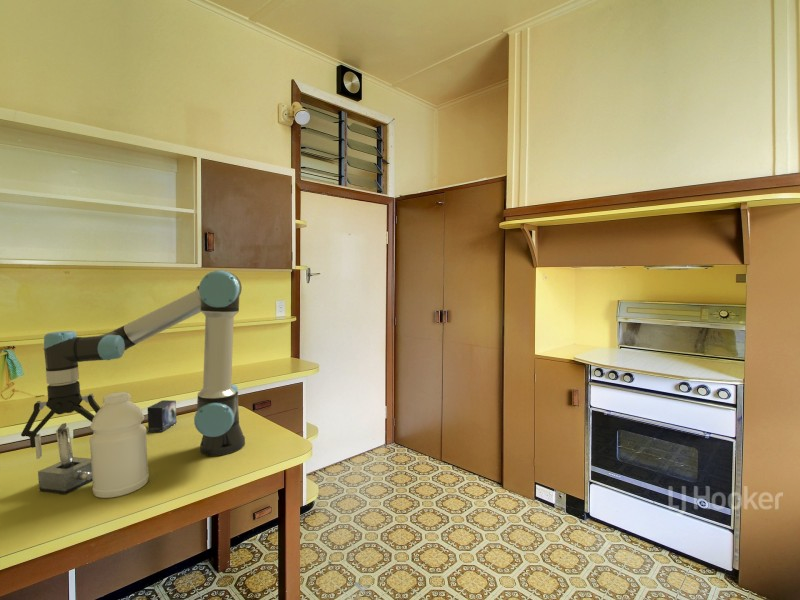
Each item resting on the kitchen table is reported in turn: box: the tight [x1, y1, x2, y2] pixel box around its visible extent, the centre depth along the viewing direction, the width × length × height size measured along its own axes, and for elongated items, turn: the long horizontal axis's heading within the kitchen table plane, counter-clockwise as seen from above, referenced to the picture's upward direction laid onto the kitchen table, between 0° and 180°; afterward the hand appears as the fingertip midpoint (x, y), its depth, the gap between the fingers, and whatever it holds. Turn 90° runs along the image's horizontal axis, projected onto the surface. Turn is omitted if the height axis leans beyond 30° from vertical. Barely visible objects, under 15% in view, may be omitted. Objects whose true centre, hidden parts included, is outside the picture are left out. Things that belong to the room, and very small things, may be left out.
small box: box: [147, 399, 178, 433], centre depth 170 cm, size 11×6×10 cm, turn 179°
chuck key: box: [55, 422, 74, 469], centre depth 123 cm, size 7×3×17 cm, turn 32°
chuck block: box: [37, 456, 93, 495], centre depth 123 cm, size 12×10×6 cm
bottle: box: [89, 391, 150, 499], centre depth 120 cm, size 14×14×28 cm
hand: (68, 451), depth 123 cm, fingers open, 13 cm apart
